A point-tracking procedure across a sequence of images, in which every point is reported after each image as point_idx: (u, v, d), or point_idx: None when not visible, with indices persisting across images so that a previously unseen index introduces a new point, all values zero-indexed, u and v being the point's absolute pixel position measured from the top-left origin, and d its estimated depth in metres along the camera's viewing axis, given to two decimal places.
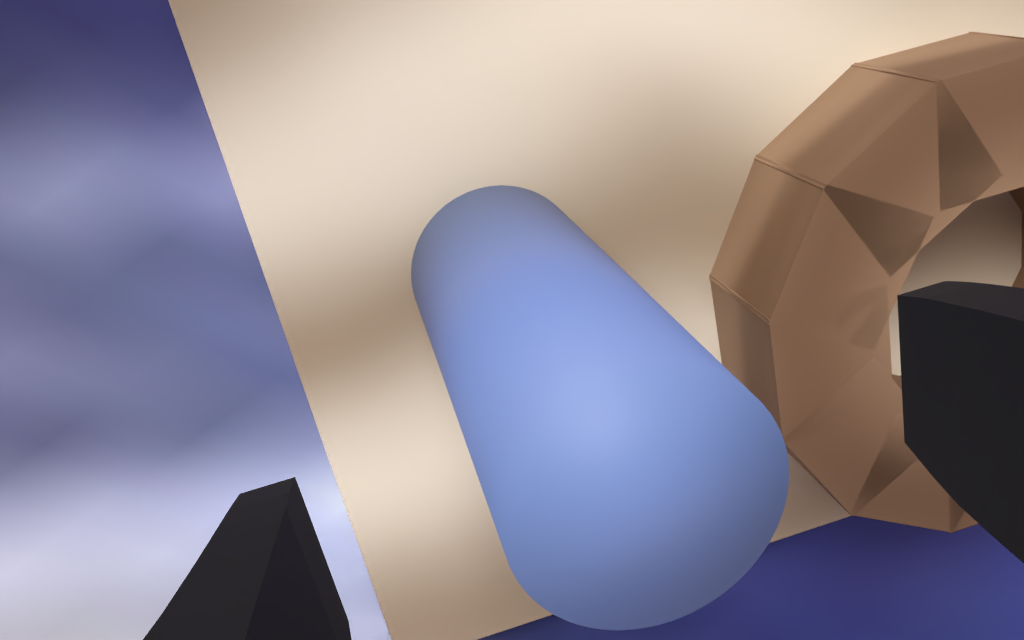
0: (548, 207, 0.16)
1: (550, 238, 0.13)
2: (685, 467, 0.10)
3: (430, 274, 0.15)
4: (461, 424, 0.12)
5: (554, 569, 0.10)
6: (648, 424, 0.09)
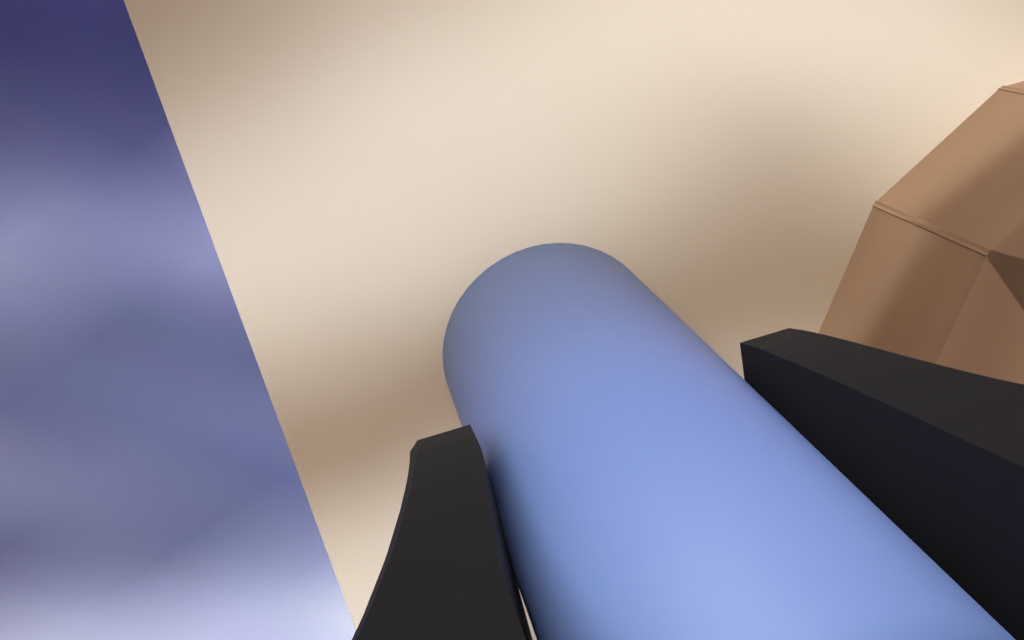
0: (623, 276, 0.12)
1: (643, 334, 0.10)
2: None
3: (473, 368, 0.11)
4: (533, 619, 0.08)
5: None
6: None
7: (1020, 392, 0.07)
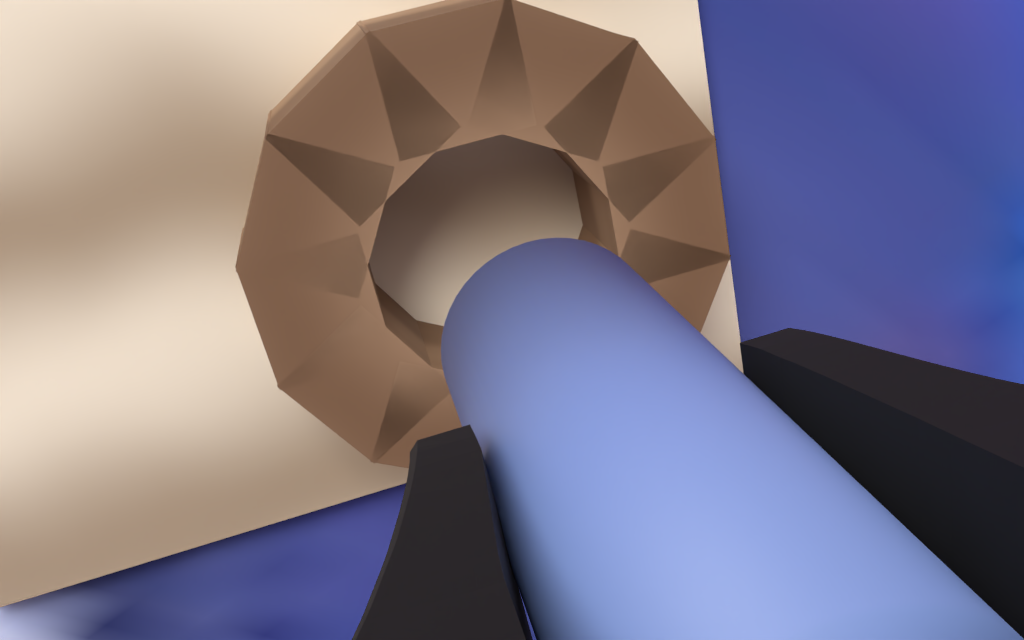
0: (620, 270, 0.12)
1: (639, 327, 0.10)
2: None
3: (470, 364, 0.11)
4: (531, 615, 0.08)
5: None
6: None
7: (1019, 392, 0.07)
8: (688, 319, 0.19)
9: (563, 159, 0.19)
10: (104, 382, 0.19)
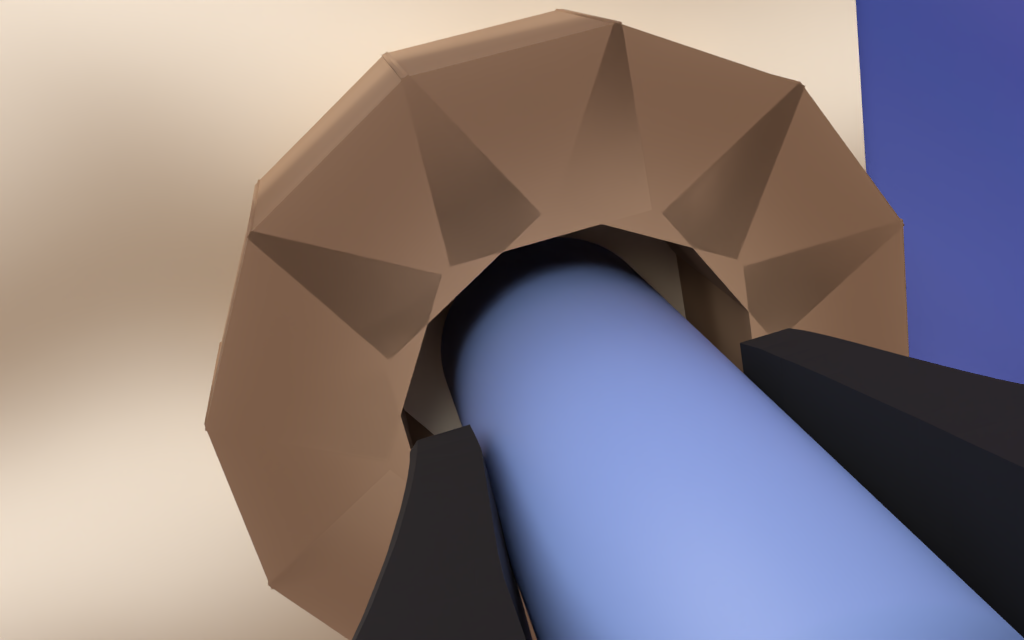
0: (621, 270, 0.12)
1: (639, 326, 0.10)
2: None
3: (470, 363, 0.11)
4: (530, 614, 0.08)
5: None
6: None
7: (1020, 392, 0.07)
8: None
9: (667, 241, 0.14)
10: (28, 552, 0.14)
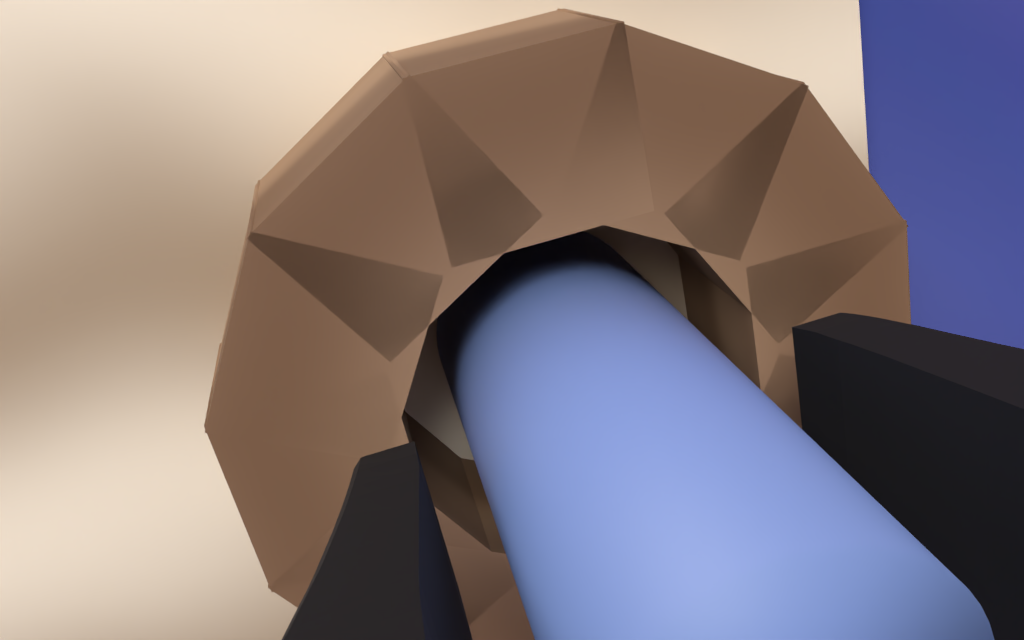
0: (608, 255, 0.13)
1: (622, 307, 0.10)
2: None
3: (463, 344, 0.12)
4: (514, 572, 0.09)
5: None
6: (806, 625, 0.06)
7: None
8: None
9: (669, 242, 0.14)
10: (27, 554, 0.14)
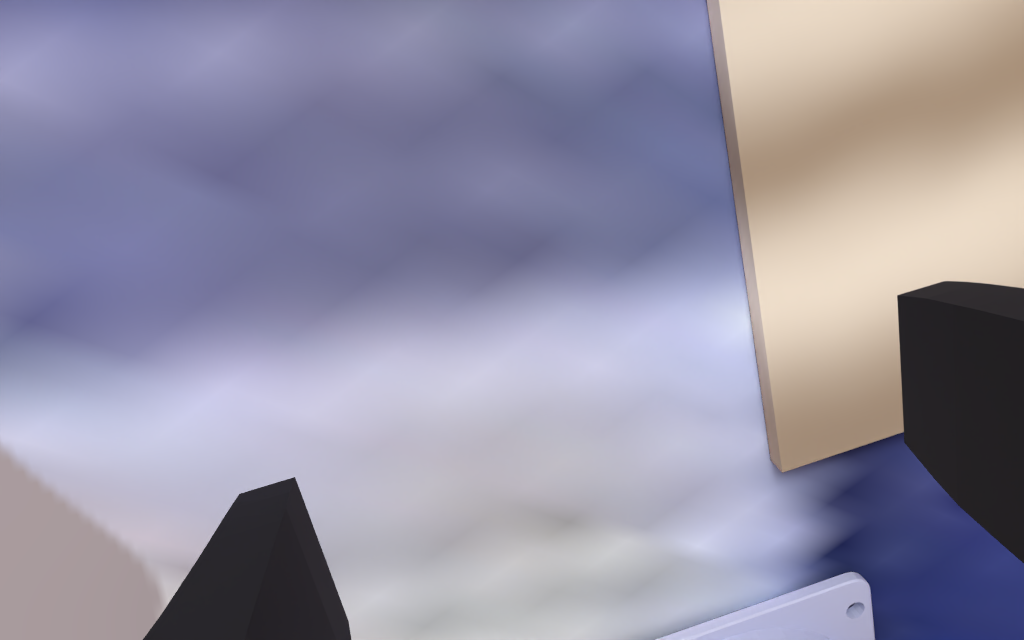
0: None
1: None
2: None
3: None
4: None
5: None
6: None
7: None
8: None
9: None
10: (938, 253, 0.21)
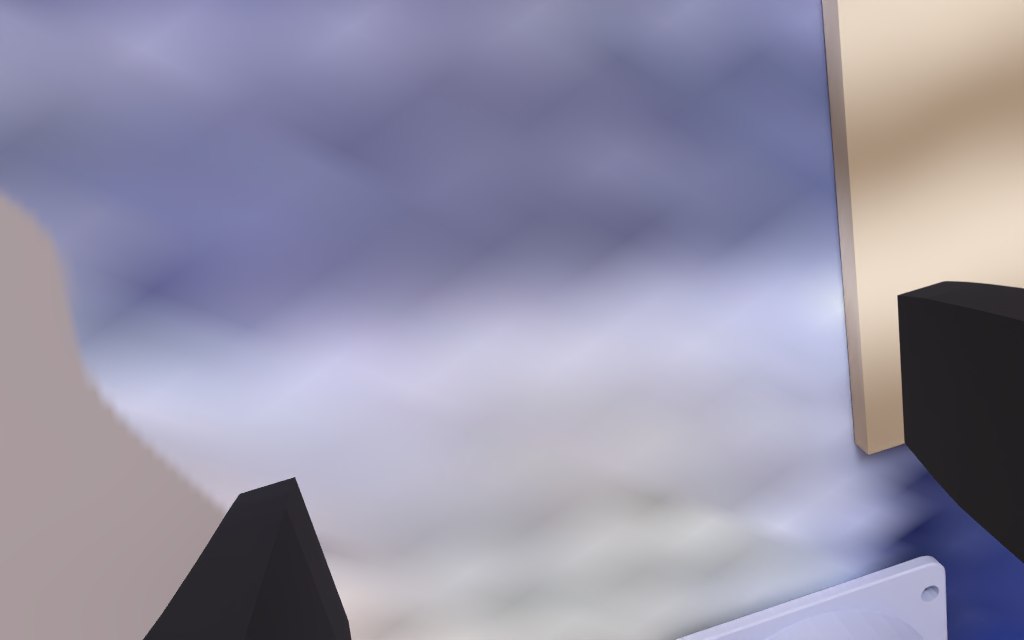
0: None
1: None
2: None
3: None
4: None
5: None
6: None
7: None
8: None
9: None
10: None
